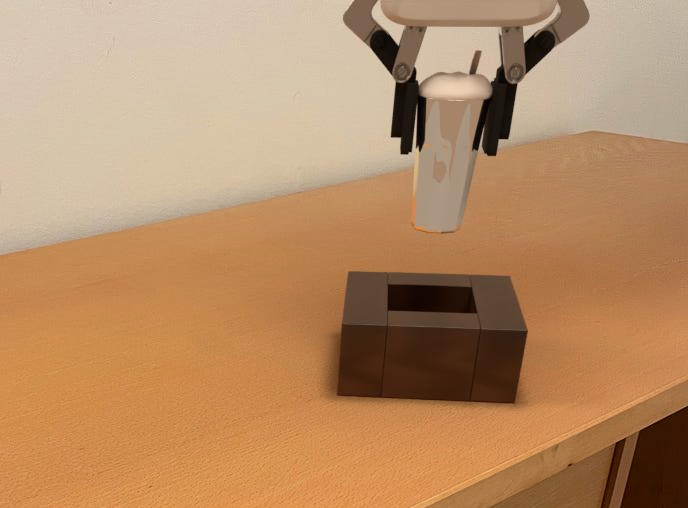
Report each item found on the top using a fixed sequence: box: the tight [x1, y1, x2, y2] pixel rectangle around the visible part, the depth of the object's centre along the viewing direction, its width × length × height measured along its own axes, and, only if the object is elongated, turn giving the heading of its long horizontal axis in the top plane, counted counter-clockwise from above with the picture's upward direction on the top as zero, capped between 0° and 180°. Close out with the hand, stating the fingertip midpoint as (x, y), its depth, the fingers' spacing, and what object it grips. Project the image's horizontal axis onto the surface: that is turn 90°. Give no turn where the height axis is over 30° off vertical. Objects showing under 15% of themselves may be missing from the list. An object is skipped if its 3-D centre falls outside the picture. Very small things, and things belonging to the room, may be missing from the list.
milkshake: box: [410, 49, 493, 235], centre depth 62 cm, size 4×5×10 cm
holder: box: [336, 270, 529, 404], centre depth 70 cm, size 12×12×5 cm
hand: (447, 148), depth 63 cm, fingers closed on milkshake, 4 cm apart
